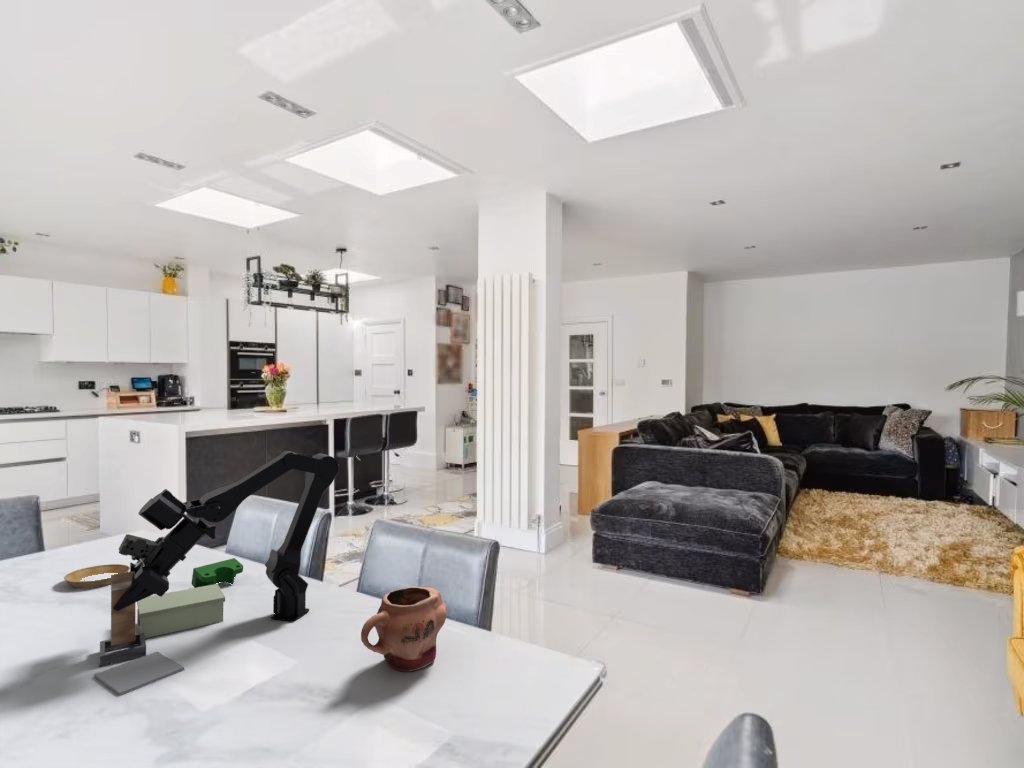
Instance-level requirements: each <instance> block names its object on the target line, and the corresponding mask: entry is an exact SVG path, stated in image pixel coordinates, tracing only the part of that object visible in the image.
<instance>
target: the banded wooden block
mask: <svg viewBox="0 0 1024 768" xmlns="http://www.w3.org/2000/svg"><path fill="white" fill-rule="evenodd" d="M132 573H133V574H135V571H133V572H130V571H128V572H126V573H120V574H114V575H111V584H110V639H111V646H112V645H116V644H121V643H125V642H130V641H134V640H135V634H136V602H135V603H133V604H131V605H129V606H127V607H125V608H123V609H121V610H119V611H116V610H114V609H113V607H114V606H115V604H116V603H117V602H118V600H119V599H120V598H121V596H122V595H123V594H124V593H125V591H126V590H127V589H128V587H129V586H130V585H131V582H132Z"/></svg>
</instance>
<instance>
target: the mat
mask: <svg viewBox="0 0 1024 768" xmlns="http://www.w3.org/2000/svg"><path fill="white" fill-rule="evenodd" d="M182 671H185V666H183V665H181V664H180V663H178V662H176V661H174V660H173V659H171V658H170V657H168V656H166V655H164V654H163V653H161V652H159V651H155V652H152V653H150V654H146V656H143V657H139V658H135V659H131V660H129V661H127V662H125V663H121V664H119V665H117V666H114V667H110V668H108V669H105V670H103V671H100V672H97V673H94V674H93V678H95V679H96V680H97V681H99V682H100V683H102V684H103V685H104V686H106V688H107V687H108V689H110V690H111V691H113V692H114V693H116V694H117V695H119V697H120V696H123V695H126V694H127V693H130V692H132V691H135V690H138V689H139V688H142V687H145V686H148V685H150V684H152V683H153V684H154V683H155V682H157V681H160V680H163V679H165V678H168V677H170V676H173V675H175V674H177V673H179V672H182Z"/></svg>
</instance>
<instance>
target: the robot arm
mask: <svg viewBox="0 0 1024 768" xmlns="http://www.w3.org/2000/svg"><path fill="white" fill-rule="evenodd" d="M291 470H296V471H300V472H305V480H304V482H305V486H304V489H303V492H302V495H301V497H300V499H299V503H298V505H297V508H296V509H295V512H294V514H293V517H292V520H291V522H290V524H289V525H290V526H289V528H288V531H287V533H286V536H285V538H284V540H283V543H282V544H281V546H280V547H279V548H277V550H275V549H274V548H273V549H271V550H270V552H269V557H268V560H267V561H266V563H265V564H264V566H265V568H266V570H265V574H266V577H267V578H268V580H270V582H271V583H272V584H273V586H274V587H276V588H277V589H275V590H274V595H273V605H272V606H273V607H272V608H273V614H272V615H270V619H271V620H278V621H279V620H280V621H285V622H286V621H288V622H296V621H297V620H299V618H301V617H303V616H304V615H305V614H307V613H309V612H310V608H307V607H306V600H307V599H306V598H307V597H306V596H307V595H306V594H307V589H308V586H309V583H308V582H307V581H306V580H305V579H304V578H303V577H302V576H301V575H300V574H299V573H300V568H301V563H302V562H301V561H302V560H301V559H302V549H303V547H304V544H305V541H306V539H307V536H308V533H309V531H310V528H311V526H312V523H313V521H314V518H315V516H316V514H317V510H318V508H319V506H320V503H321V500H322V497H323V495H324V493H326V490H328V488H329V487H330V486H331V485H332V483H333V482H334V480H335V479H336V477H337V475H338V473H339V471H340V464H339V462H338V460H337V458H335V457H334V456H331V455H328V454H325V453H321V452H320V453H317V454H314V455H310V454H306V453H305V454H304V453H298V452H294V451H290V450H284V451H283V452H281V453H280V454H279V455H278V456H276V457H275V458H273V459H271V460H270V461H268V462H266V463H265V464H263V465H262V466H260V467H259V468H257V469H255V470H253V471H252V472H250V473H249V474H247V475H245V476H243V477H242V478H241V479H239V480H237V481H236V482H233V483H231V484H228V485H225V486H222V487H219V488H216V489H214V490H212V491H209V492H206V493H205V494H204V495H202V496H200V498H197V499H193V500H189V501H185V502H182V501H181V500H180V499H178V498H177V497H176V495H175V496H174V494H172V492H171V491H170V490H169V489H167V488H165V489H163V490H161V492H159V493H158V494H156V495H155V496H153V498H150V499H149V500H148V501H147V502H146V503H144V505H143V506H142V507H141V508H140V510H139V511H138V513H137V514H138V515H139V516H140V517H142V518H143V519H144V520H146V521H147V522H148V523H150V524H151V525H153V526H154V527H155V528H157V529H158V530H159V531H162V530H165V529H166V530H170V531H169V532H168V533H167V534H166V535H165V536H160V537H158V538H157V539H156V540H155V541H154V540H151V539H147V538H145V537H140V536H137V535H133V534H130V533H129V534H125V536H124V537H123V540H122V541H121V543H120V546H119V548H118V553H119V554H120V555H122V556H126V557H127V556H131V557H130V558H131V560H132V561H136V560H137V561H136V562H135V563H133V562H129V567H130V570H129V572H133V571H135V574H133V573H132V582H131V585H130V586H129V587H128V589H127V590H126V591H125V593H124V594H123V595H122V596H121V598H120V599H119V600H118V602H117V603H116V604H115V606H114V607H113V609H114V610H116V611H119V610H121V609H123V608H125V607H127V606H129V605H131V604H133V603H135V604H136V603H137V602H138V601H140V600H142V599H144V598H146V597H149V596H153V595H158V596H160V597H162V596H163V595H164V594H165V593H168V591H169V589H170V583H169V578H168V576H170V575H171V572H170V571H172V569H174V567H175V566H176V565H177V564H178V563H179V562H183V561H185V560H186V559H187V554H189V552H190V551H191V550H192V548H193V547H195V546H196V545H197V544H198V542H200V540H201V539H202V538H204V536H205V535H207V536H208V537H209V538H211V539H212V540H215V539H216V529H217V527H216V525H215V524H214V523H216V524H217V523H220V522H222V521H224V520H225V519H226V518H227V517H229V516H230V515H231V514H232V513H233V512H235V511H236V510H237V508H238V507H239V506H240V505H241V504H242V503H243V502H244V501H245V500H246V499H247V498H249V497H250V496H252V495H253V494H255V493H256V492H258V491H259V490H261V489H263V488H264V487H266V486H267V485H269V484H271V483H272V482H273V481H275V480H277V479H278V478H280V477H281V476H283V475H285V474H286V473H287V472H290V471H291ZM186 513H187V514H188V515H187V514H186ZM189 515H190V516H191V517H192V518H191V517H190V516H189ZM182 518H183V519H182ZM193 518H195V519H193ZM201 518H202V519H204V520H205V521H207V522H209V523H213V524H207V523H206V522H205V521H204V520H202V519H201Z"/></svg>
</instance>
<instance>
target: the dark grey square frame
mask: <svg viewBox="0 0 1024 768" xmlns="http://www.w3.org/2000/svg"><path fill="white" fill-rule="evenodd" d="M127 647H128V648H127ZM129 647H130V648H129ZM123 648H124V649H123ZM119 649H120V650H119ZM114 650H115V651H114ZM110 651H111V652H110ZM106 652H107V653H106ZM146 655H147V642H146V638H145V635H144V632H143V633H140V632H139V633H135V640H134V641H130V642H125V643H121V644H116V645H112V646H111V638H110V639H107V640H101V641H99V667H104V666H110V665H113V664H117V663H118V664H119V663H122V662H126V661H132V660H135V659H138V658H141V657H143V656H146Z"/></svg>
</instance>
